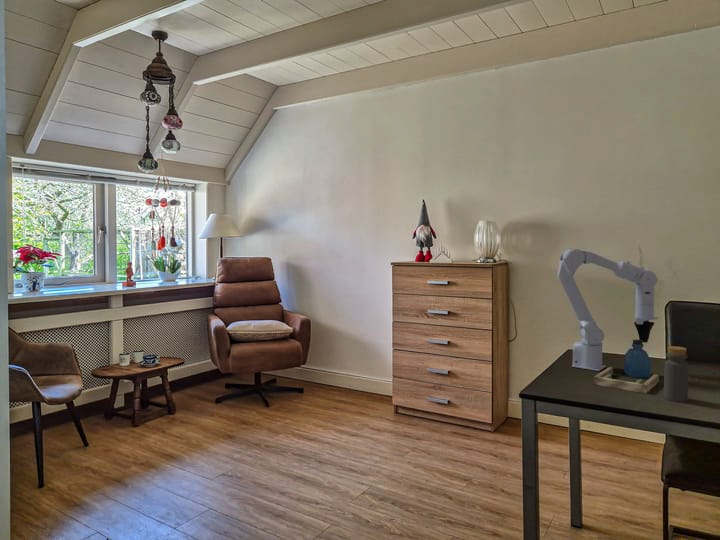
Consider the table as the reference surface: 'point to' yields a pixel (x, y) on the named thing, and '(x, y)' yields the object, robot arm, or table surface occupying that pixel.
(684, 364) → the bottle
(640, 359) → the perfume bottle
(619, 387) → the walled pen
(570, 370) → the table surface
